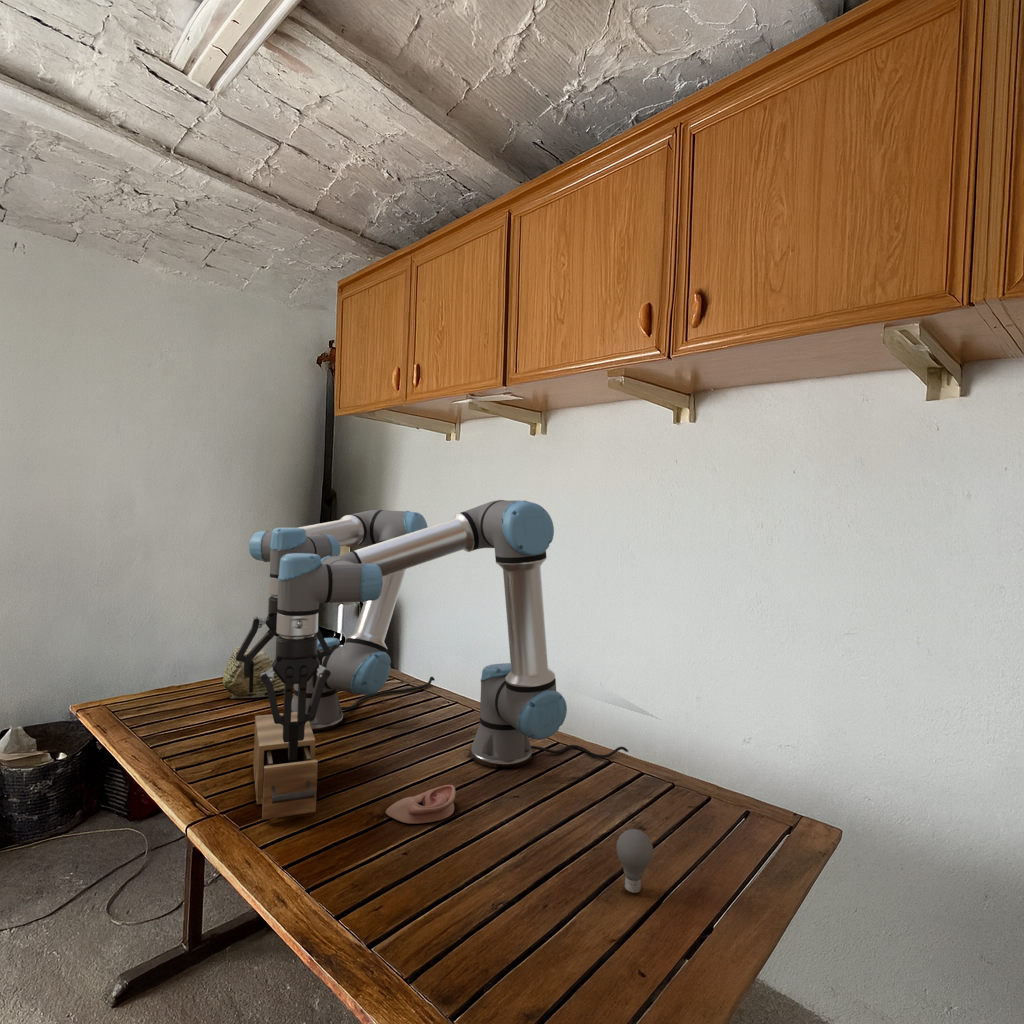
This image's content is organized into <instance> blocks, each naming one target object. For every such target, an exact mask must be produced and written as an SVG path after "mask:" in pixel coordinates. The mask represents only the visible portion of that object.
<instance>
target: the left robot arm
mask: <svg viewBox="0 0 1024 1024" xmlns="http://www.w3.org/2000/svg"><path fill="white" fill-rule="evenodd" d="M428 527H429V526H428V523H427V520H426V519H425V517H424V516H423V514H421V513H420V512H418V511H411V510H386V509H372V510H371V509H369V510H366V511H361V512H357V513H352V514H346V515H343V516H342V517H340V519H338V520H333V521H327V522H322V523H321V522H320V523H315V524H310V525H304V526H299V527H276V528H274V529H273V530H272V531H270V530H263V531H262V530H261V531H256V532H255V533H254V534H253V535H252V536H251V537H250V539H249V542H248V551H249V555H250V556H251V557H252V559H254V560H256V561H261V562H264V563H269V576H268V577H269V581H268V594H269V595H270V596H269V597H268V607H267V617H266V618H261V617H259V616H254V617H253V618H252V624H251V627H250V629H249V631H248V632H247V635H246V636H245V638H244V639H243V642H242V643H241V645H240V646H239V647H240V648H239V650H238V652H237V654H236V660H237V661H242V662H244V676H245V677H249V693H253V673H254V661H253V660H252V659H253V658H254V657H255V656H256V655H257V654H258V653H259V651H260V650H261V649H263V648H264V647H265V646H267V644H268V643H269V642H270V641H271V640H272V639H273V638H274V637H276V638H277V637H278V636H279V634H277V632H276V629H277V610H278V609H277V608H278V576H279V567H280V559H281V557H282V556H284V555H286V554H291V553H310V554H317V555H319V556H320V558H321V559H322V558H324V557H326V556H331V555H336V556H339V555H341V547H347V548H355V547H368V546H371V545H374V544H377V543H380V542H383V541H387V540H390V539H393V538H396V537H399V536H402V535H405V534H409V533H412V532H415V531H418V530H421V529H424V528H428ZM406 571H407V569H404V570H401V571H399V572H396V573H393V574H390V575H387V576H384V577H383V587H382V592H381V595H380V597H379V598H378V599H377V600H374V601H364V602H363V605H362V607H361V611H360V613H359V615H358V619H357V623H356V626H355V628H354V632H353V633H352V634H350V635H349V636H347V637H346V638H345V642H344V644H343V646H341V645H340V644H341V642H340V640H339V638H337V637H324V635H323V634H322V631H321V629H320V627H319V626H318V632H317V633H316V634H315V635H316V636H317V637H318V644H317V659H318V661H319V663H320V665H321V666H323V667H327V668H328V669H329V670H330V672H331V674H330V676H329V678H328V679H327V680H326V682H325V684H324V688H323V691H322V695H321V698H320V702H319V705H318V709H317V712H316V716H315V719H314V720H312V721H311V720H310V721H309V723H310V726H311V729H312V732H313V733H316V732H325V731H329V730H332V729H335V728H337V727H339V726H340V725H342V723H343V722H344V714H343V711H351V710H353V709H354V708H356V707H357V706H358V705H359V703H361V702H363V701H366V700H367V699H371V698H374V697H375V698H376V697H380V696H383V695H390V694H397V693H406V692H412V691H417V690H421V689H424V688H427V687H429V686H430V685H431V684H432V682H434V681H436V679H435V678H434V676H430V677H429V679H428V681H427V683H425V684H422V685H417V686H413V687H412V686H411V687H406V688H400V689H391V690H384V691H380V690H382V688H383V687H384V686H385V684H386V683H387V682H388V679H389V676H390V673H391V668H392V666H391V664H392V660H391V656H390V655H389V654H388V653H387V652H388V647H387V645H386V643H385V640H386V637H387V634H388V630H389V627H390V623H391V621H392V617H393V614H394V611H395V608H396V604H397V600H398V597H399V594H400V591H401V588H402V587H401V586H402V585H403V581H404V577H405V574H406ZM263 625H266V627H267V628H268V630H266V632H265V634H264V635H263V636H262V637H261V638H260V639H259V640H258V642H257V643H255V645H254V646H253V647H252V648H250V645H251V644H252V641H253V640H254V638H255V636H256V634H257V632H258V630H259V629H261V628H262V627H263ZM248 648H250V649H251V650H250V652H249V653H248V654H247V655H244V654H245V652H246V650H247V649H248ZM251 660H252V661H251ZM317 678H318V677H317V670H316V672H315V673H314V674H313V676H312V677H311V678H310V680H309V681H308V682H307V689H306V713H307V712H308V708H309V705H310V701H311V698H312V694H313V691H314V687H315V684H316V680H317ZM338 691H340V692H347V693H352V694H354V695H357V696H359V695H363V696H362V697H360V698H359V699H357V700H356V701H355V702H354V703H353V704H352V705H349V706H341V702H340V699H339V695H338ZM292 712H298V684H293V695H292V705H291V713H292Z"/></svg>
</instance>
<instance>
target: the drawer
mask: <svg viewBox="0 0 1024 1024" xmlns="http://www.w3.org/2000/svg"><path fill="white" fill-rule="evenodd" d="M318 765H319V761H318V759H315V760H311V757H310V754H309V750H308V747H307V746H300V747H298V759H297V760H293V761H289V758H288V748H282V749H273V750H265V751H264V771H263V804H262V806H261V807H262V808H261V809H262V811H261V819H262V821H265V820H272V819H279V818H284V817H291V816H297V815H304V814H309V813H316V812H317V791H318V770H319V769H318V768H319V766H318Z"/></svg>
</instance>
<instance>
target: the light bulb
mask: <svg viewBox="0 0 1024 1024" xmlns="http://www.w3.org/2000/svg"><path fill="white" fill-rule="evenodd" d="M615 849H616V854H617V857H618V859H619V861H620V863H621V865H622V867H623V873H624V874H623V875H624V876H625V878H624V888H625V890H627V891H628V892H630V893H634V894H635V893H639V892H640V891H641V889H642V887H641V886H642V879H643V877H644V875H645V871H646V868H647V867H648V866H649V864H650V863H651V861H652V859H653V855H654V847H653V843H652V841H651V838H649V836H648V835H647V834H646V833H645V832H643V831H642V830H641V829H636V828H629V829H627V830H625V831H623V832H622V833H621V834H620V835H619V837H618V839H617V841H616V847H615Z"/></svg>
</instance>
